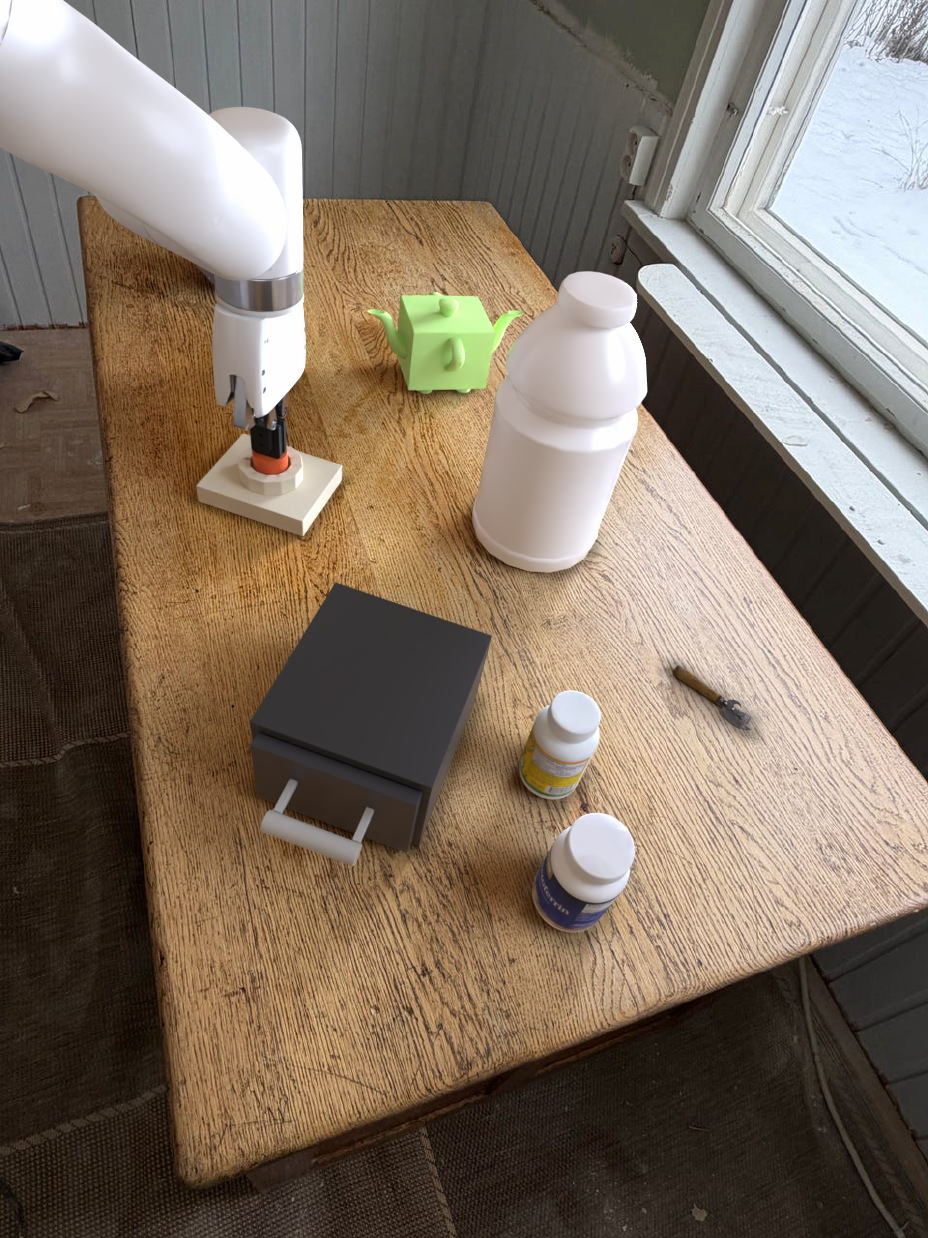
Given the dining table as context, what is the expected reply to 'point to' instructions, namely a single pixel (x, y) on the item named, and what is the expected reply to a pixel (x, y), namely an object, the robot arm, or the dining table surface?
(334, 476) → the control block
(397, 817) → the cabinet drawer
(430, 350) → the teapot
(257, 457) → the button
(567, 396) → the bottle
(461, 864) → the dining table surface
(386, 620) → the small drawer cabinet
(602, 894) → the pill bottle
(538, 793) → the supplement bottle
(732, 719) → the can opener
